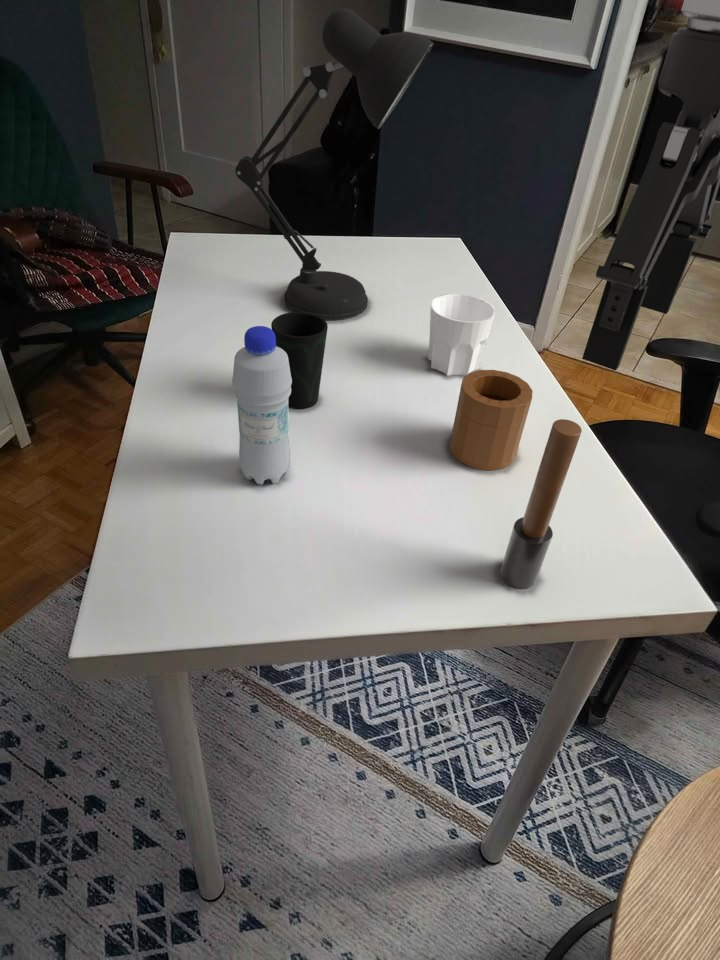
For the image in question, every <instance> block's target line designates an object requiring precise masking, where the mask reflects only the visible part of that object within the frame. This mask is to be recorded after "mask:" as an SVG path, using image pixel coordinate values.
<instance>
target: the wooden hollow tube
mask: <svg viewBox="0 0 720 960" xmlns="http://www.w3.org/2000/svg"><path fill="white" fill-rule="evenodd" d="M532 401H533V389H532V388H531V386H530V385H529V383H528V382H527V381H525V380H524V379H522V378H521V377H519V376H518V375H515V374H513V373H510V372H507V371H502V370H497V369H478V370H473V371H472V372H470V373H469V374H468V375H466V376H464V377H463V378H462V380H461V383H460V390H459V395H458V400H457V405H456V409H455V416H454V420H453V426H452V431H451V437H450V442H449V449H450V452H451V454H452V455H453V457H454V458H455V459H456V460H458V461H459V462H460V463H462V464H464V465H465V466H468V467H470V468H472V469H476V470H480V471H481V470H482V471H498V470H502V469H505V468H508V467H509V466H510V465H511V464H513V462H514V461H515V459H516V456H517V453H518V450H519V447H520V443H521V441H522V440H521V439H522V436H523V432H524V430H525V429H524V428H525V426H526V420H527V418H528V414H529V411H530V408H531V403H532Z"/></svg>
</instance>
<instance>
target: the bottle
mask: <svg viewBox="0 0 720 960" xmlns="http://www.w3.org/2000/svg"><path fill="white" fill-rule="evenodd" d="M243 341H244V346H243V347H242V348H240V349H238V351H236V353H235V355H234V358H233V359H234V360H233V369H232V370H233V372H232V380H231V382H232V386H233V394H234V396H235V398H236V402H237V417H238V432H239V446H238V447H239V448H238V455H239V456H238V457H239V458H238V459H239V465H240V469H241V471H242V473H243V475H244V477H245V478H246V479H247V480H253V479H254V481H255V482H256V484H257V485H264V484H265V483H264V482H265V480H270V482H271V483H272V484H277V483H278V482H279V481H280V479H281V478H282V477H285V476H287V474H288V473H289V472H290V471H289V470H290V466H291V446H290V445H291V443H290V436H289V435H290V433H289V431H290V428H289V427H290V425H289V424H290V423H289V422H290V421H289V415H290V414H289V413H290V411H289V408H290V407H288V397H289V396H290V394H291V384H292V378H291V373H290V367H289V360H288V356H287V354H286V352H285V351H284V350H282V349H281V348H279V347H277V346H276V337H275V334H274V332H273V331H272V328H270V327H268V326H265V325H256V326H255V325H254V326H251V327H249V328H248V329H247V330H246V331H245V333H244V338H243Z"/></svg>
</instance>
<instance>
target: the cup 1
mask: <svg viewBox="0 0 720 960" xmlns="http://www.w3.org/2000/svg"><path fill="white" fill-rule="evenodd" d="M270 327H271V328H270V329H271V330H272V331H273V332H274V334H275V337H276V346H277V347H279V348H281V349H282V350H284V351H285V352H286V354H287V356H288V360H289V367H290V373H291V378H292V384H291V394H290V396H289V397H288V407H289V408H290V409H292V410H293V409H294V410H306V409H309V408H312V407H314V406H315V405H317V403H318V401H319V394H320V388H321V380H322V373H323V367H324V366H323V365H324V359H325V350H326V343H327V337H328V328H329V326H328V322H327V320H324V319H323V318H321V317H319V316H317V315H314V314H311V313H306V312H293V311H290V312H286V313H282V314H279V315H278V316H275V318H274V319H272V321H271V326H270Z"/></svg>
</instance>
